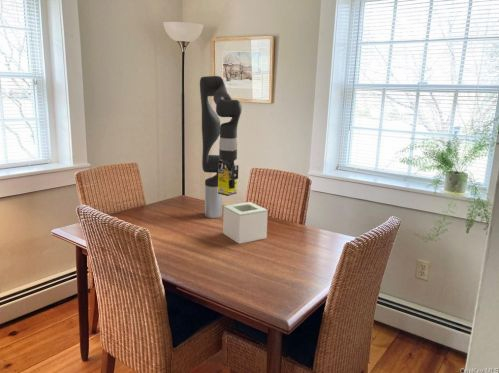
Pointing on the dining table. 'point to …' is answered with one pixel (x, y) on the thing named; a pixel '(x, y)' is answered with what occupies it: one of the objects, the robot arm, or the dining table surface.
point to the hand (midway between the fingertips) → (227, 186)
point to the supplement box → (225, 183)
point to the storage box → (245, 222)
